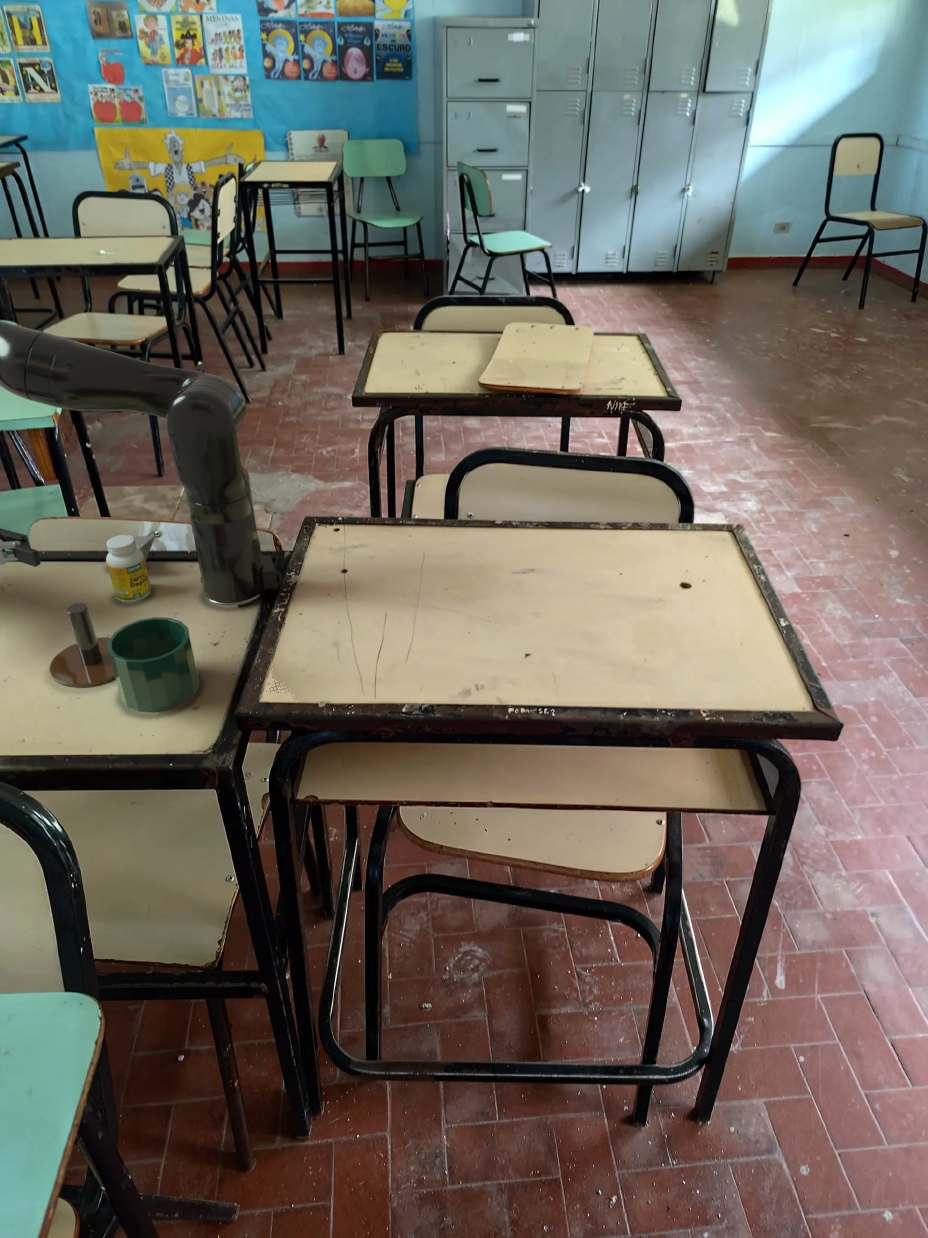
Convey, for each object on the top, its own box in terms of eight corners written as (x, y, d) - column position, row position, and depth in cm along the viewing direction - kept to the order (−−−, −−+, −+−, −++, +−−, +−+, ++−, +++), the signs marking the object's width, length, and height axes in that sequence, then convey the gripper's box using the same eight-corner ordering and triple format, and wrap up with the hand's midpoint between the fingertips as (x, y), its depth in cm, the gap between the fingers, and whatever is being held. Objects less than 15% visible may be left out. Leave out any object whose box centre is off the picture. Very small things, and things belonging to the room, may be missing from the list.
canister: (196, 663, 117) (186, 611, 112) (202, 706, 109) (191, 653, 105) (121, 676, 114) (107, 624, 110) (122, 721, 107) (107, 668, 102)
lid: (134, 637, 122) (120, 580, 117) (136, 682, 114) (120, 622, 108) (53, 651, 119) (35, 593, 114) (49, 697, 111) (29, 637, 105)
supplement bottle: (131, 583, 134) (118, 529, 129) (159, 590, 133) (147, 536, 127) (108, 600, 130) (93, 545, 125) (136, 607, 129) (122, 552, 123)
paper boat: (85, 559, 138) (124, 524, 143) (115, 588, 141) (151, 552, 146) (113, 544, 129) (153, 507, 135) (144, 575, 132) (182, 537, 137)
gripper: (-129, 544, 112) (-45, 573, 106) (-34, 502, 123) (47, 526, 117) (-108, 592, 116) (-27, 622, 110) (-18, 547, 127) (60, 573, 121)
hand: (11, 573), depth 114 cm, fingers open, 8 cm apart
